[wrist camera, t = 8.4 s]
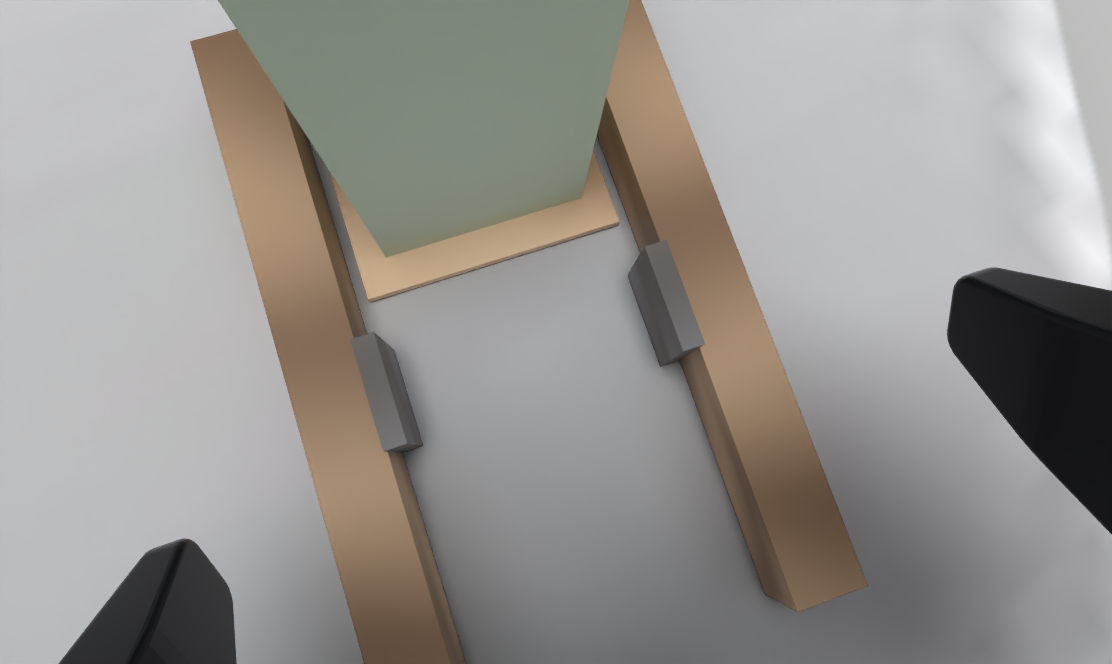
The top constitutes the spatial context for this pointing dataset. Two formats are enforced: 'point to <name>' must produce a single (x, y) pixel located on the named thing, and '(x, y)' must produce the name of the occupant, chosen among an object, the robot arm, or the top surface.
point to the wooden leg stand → (380, 395)
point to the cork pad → (476, 240)
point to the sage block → (441, 102)
